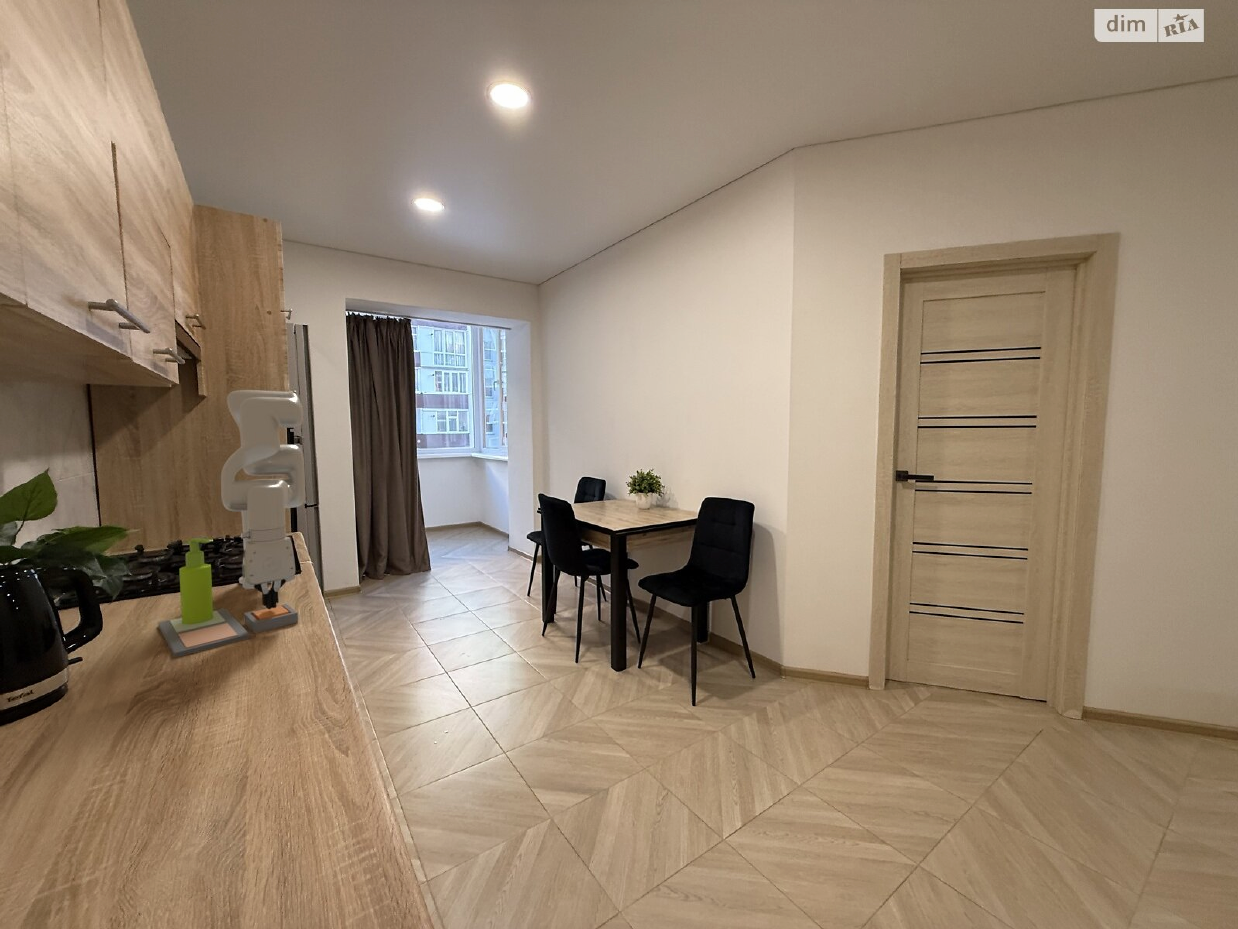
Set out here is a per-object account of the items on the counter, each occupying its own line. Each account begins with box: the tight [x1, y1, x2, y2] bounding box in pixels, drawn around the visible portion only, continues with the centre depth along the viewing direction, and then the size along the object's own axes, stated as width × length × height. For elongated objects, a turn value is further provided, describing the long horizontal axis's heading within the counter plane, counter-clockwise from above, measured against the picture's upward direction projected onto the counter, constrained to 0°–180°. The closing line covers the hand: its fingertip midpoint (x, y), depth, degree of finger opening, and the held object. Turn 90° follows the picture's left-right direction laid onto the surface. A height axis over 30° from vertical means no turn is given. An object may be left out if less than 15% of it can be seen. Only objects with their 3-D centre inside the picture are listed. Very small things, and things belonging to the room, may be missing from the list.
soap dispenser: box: [178, 537, 214, 624], centre depth 123 cm, size 6×7×20 cm
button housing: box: [243, 603, 299, 634], centre depth 125 cm, size 9×9×2 cm
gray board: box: [157, 608, 251, 658], centre depth 119 cm, size 24×13×1 cm, turn 48°
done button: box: [253, 605, 289, 621], centre depth 125 cm, size 6×6×2 cm
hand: (270, 607), depth 125 cm, fingers closed
